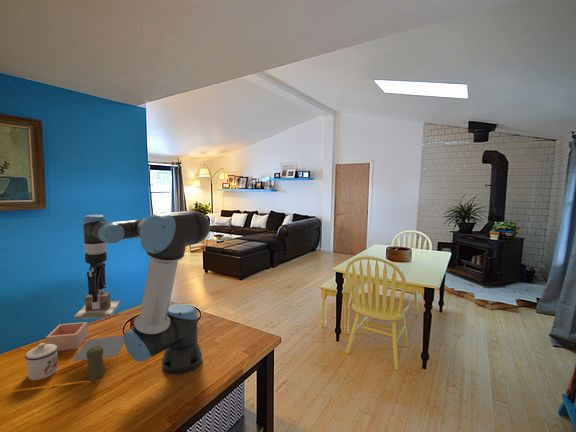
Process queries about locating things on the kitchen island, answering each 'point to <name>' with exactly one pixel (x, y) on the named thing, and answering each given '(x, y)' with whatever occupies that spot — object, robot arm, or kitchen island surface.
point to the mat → (108, 344)
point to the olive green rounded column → (95, 364)
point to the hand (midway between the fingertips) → (98, 306)
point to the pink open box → (68, 336)
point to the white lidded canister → (42, 361)
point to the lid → (105, 309)
